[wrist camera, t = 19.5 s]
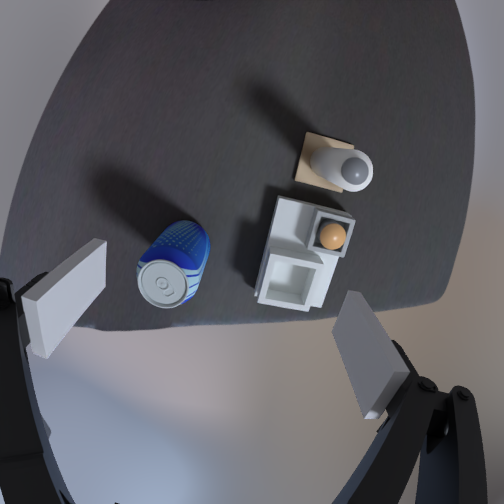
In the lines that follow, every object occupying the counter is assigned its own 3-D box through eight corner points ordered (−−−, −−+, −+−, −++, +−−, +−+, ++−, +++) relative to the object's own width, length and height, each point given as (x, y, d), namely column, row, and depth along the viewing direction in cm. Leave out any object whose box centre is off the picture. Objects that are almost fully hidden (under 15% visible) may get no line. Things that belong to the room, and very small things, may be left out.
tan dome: (320, 216, 47) (324, 221, 44) (343, 222, 47) (349, 227, 44) (313, 240, 48) (317, 246, 45) (336, 245, 49) (341, 252, 46)
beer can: (161, 261, 53) (131, 308, 38) (164, 215, 50) (130, 248, 35) (208, 268, 53) (193, 319, 38) (214, 222, 50) (199, 258, 35)
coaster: (306, 131, 45) (306, 131, 45) (353, 145, 46) (354, 145, 45) (294, 179, 48) (294, 180, 47) (340, 192, 48) (342, 192, 48)
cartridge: (303, 158, 46) (327, 165, 33) (329, 140, 45) (361, 141, 32) (321, 183, 47) (350, 200, 34) (346, 166, 46) (382, 177, 33)
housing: (277, 195, 49) (281, 202, 43) (347, 212, 50) (358, 221, 44) (254, 289, 54) (254, 306, 49) (318, 300, 55) (325, 318, 50)
